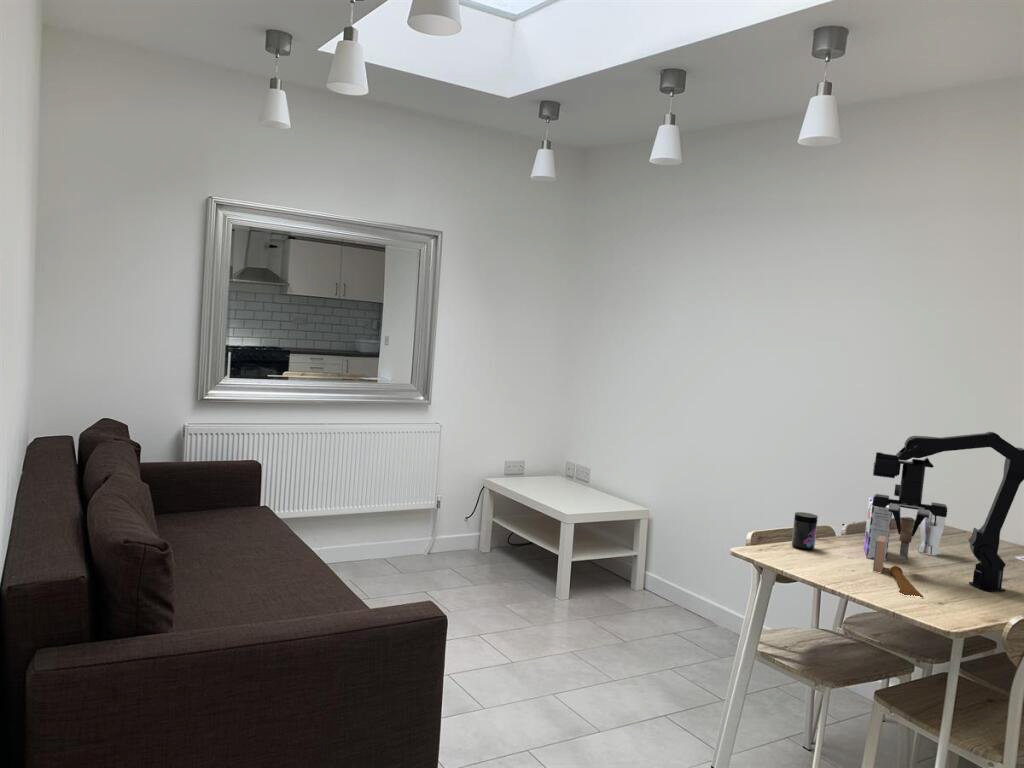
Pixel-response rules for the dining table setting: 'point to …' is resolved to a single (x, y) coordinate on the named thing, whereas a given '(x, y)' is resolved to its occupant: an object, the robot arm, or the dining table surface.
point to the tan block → (879, 553)
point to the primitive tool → (903, 582)
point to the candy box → (876, 528)
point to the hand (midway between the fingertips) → (905, 535)
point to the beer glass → (931, 534)
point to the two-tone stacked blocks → (905, 536)
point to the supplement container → (804, 531)
